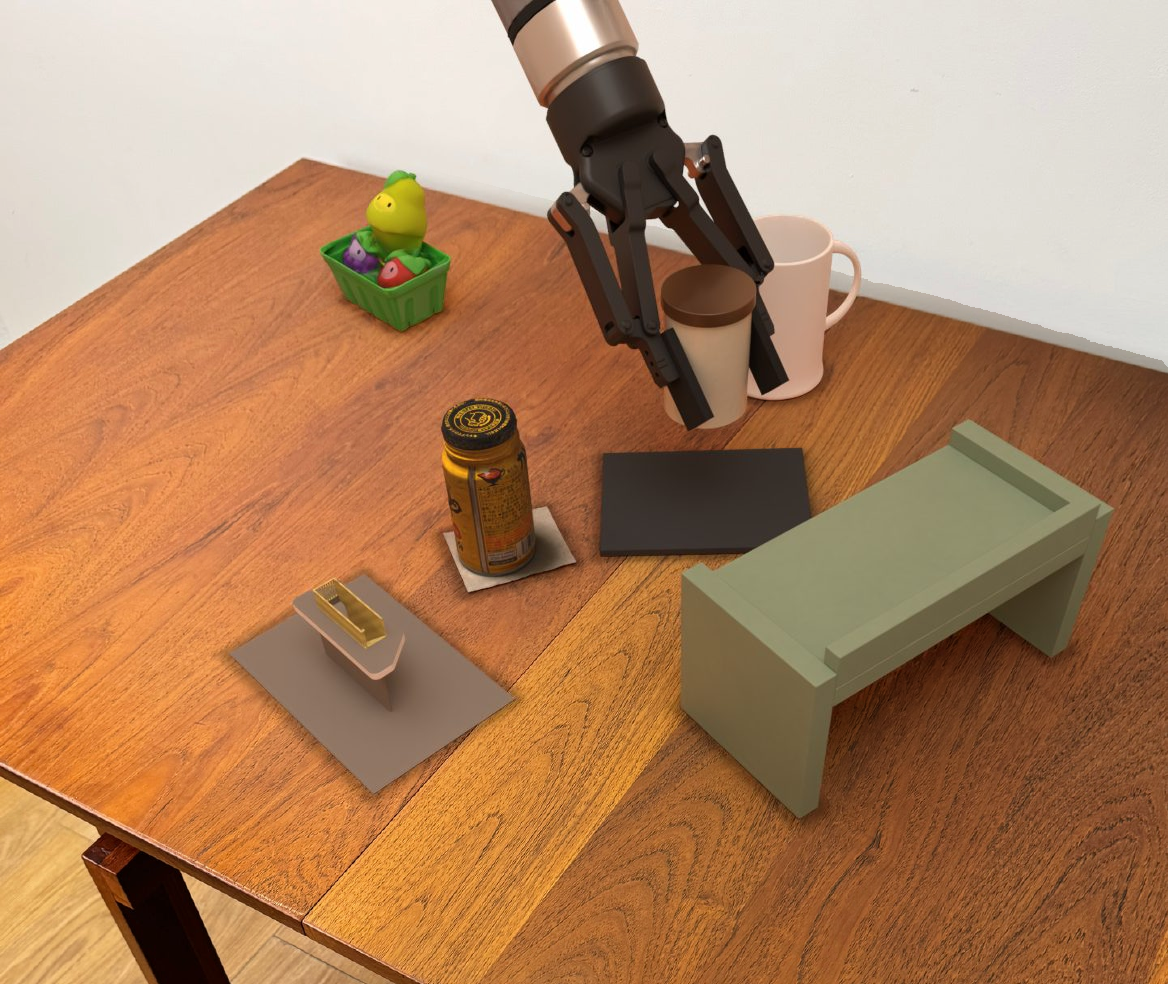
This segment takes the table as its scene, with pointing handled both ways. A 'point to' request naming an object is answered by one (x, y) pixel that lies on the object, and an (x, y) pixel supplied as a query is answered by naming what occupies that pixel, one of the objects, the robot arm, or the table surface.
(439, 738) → the platform
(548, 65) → the robot arm
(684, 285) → the spice jar
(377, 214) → the fruit basket
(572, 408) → the table surface
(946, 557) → the stand
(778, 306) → the mug
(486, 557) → the condiment
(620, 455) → the mat
